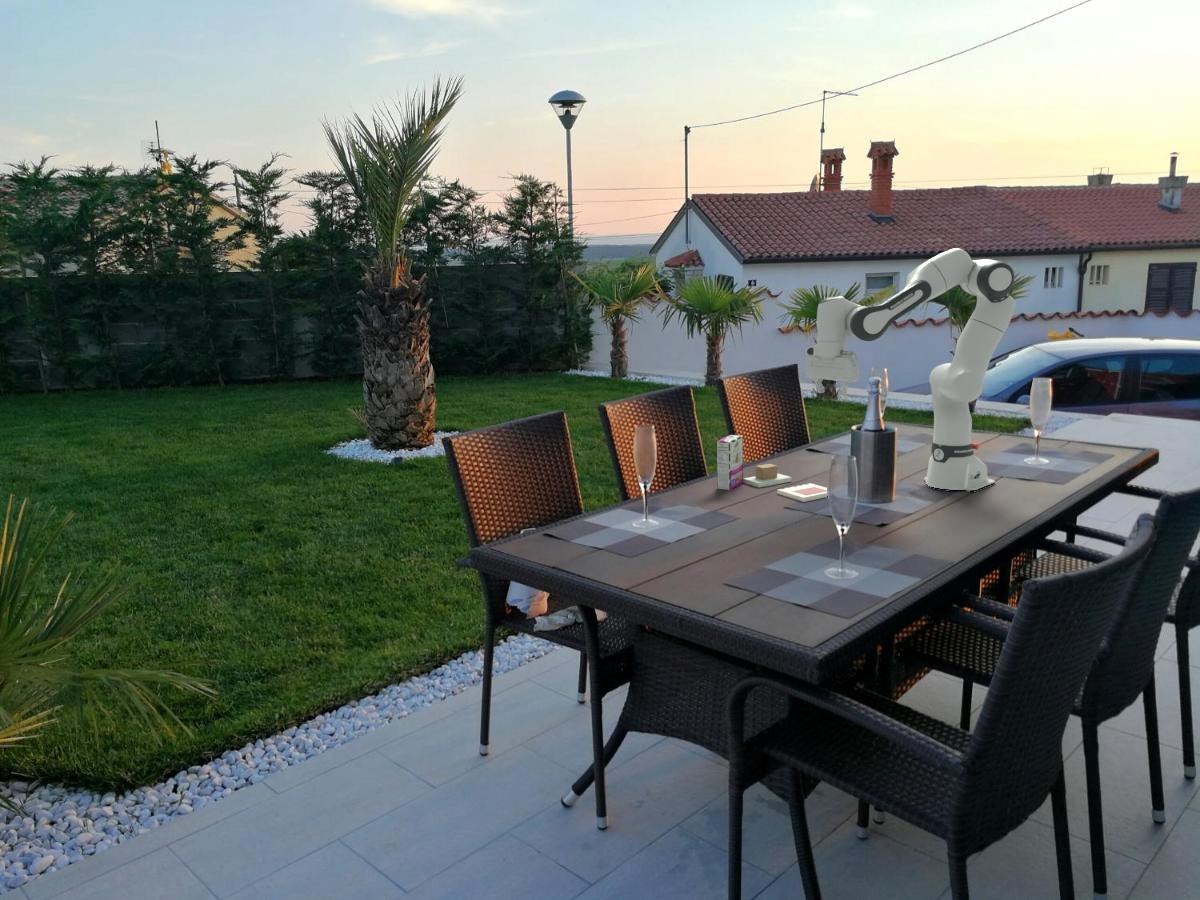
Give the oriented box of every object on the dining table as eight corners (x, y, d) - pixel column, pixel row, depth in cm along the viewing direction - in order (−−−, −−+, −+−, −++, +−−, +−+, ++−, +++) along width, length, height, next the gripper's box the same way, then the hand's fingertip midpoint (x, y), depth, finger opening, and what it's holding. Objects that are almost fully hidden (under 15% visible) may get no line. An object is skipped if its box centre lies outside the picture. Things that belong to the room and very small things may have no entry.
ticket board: (810, 487, 273) (810, 482, 273) (837, 495, 263) (837, 490, 263) (777, 494, 267) (777, 489, 266) (803, 502, 256) (803, 497, 256)
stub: (775, 476, 288) (775, 461, 287) (791, 481, 281) (791, 465, 280) (743, 482, 281) (743, 466, 280) (758, 487, 274) (758, 471, 273)
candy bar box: (729, 481, 284) (729, 434, 281) (743, 483, 281) (743, 435, 278) (716, 489, 275) (716, 440, 271) (730, 491, 272) (730, 441, 269)
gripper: (864, 350, 252) (864, 395, 255) (816, 347, 270) (816, 390, 273) (848, 352, 249) (848, 398, 252) (801, 349, 267) (802, 392, 270)
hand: (831, 394), depth 262 cm, fingers open, 8 cm apart
